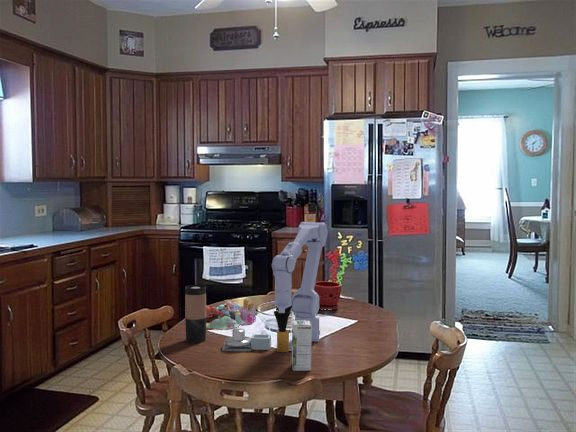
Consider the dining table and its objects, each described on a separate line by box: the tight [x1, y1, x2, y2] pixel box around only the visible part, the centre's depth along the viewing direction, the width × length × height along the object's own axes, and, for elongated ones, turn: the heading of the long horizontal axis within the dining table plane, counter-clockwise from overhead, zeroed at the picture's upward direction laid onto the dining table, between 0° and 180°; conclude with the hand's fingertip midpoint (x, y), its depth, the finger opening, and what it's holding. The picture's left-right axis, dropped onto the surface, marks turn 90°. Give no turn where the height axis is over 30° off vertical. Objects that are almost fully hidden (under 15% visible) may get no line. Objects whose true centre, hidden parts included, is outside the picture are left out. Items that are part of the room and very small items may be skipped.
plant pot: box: [314, 280, 342, 310], centre depth 244 cm, size 13×13×12 cm
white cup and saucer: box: [221, 328, 253, 353], centre depth 186 cm, size 10×10×6 cm
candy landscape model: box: [206, 298, 257, 330], centre depth 221 cm, size 25×24×9 cm
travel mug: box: [184, 284, 207, 344], centre depth 193 cm, size 8×8×20 cm
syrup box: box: [291, 320, 313, 372], centre depth 164 cm, size 6×6×14 cm
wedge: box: [276, 329, 290, 353], centre depth 182 cm, size 2×4×7 cm, turn 86°
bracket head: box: [250, 330, 272, 351], centre depth 189 cm, size 7×13×4 cm, turn 177°
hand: (283, 328), depth 182 cm, fingers open, 7 cm apart
